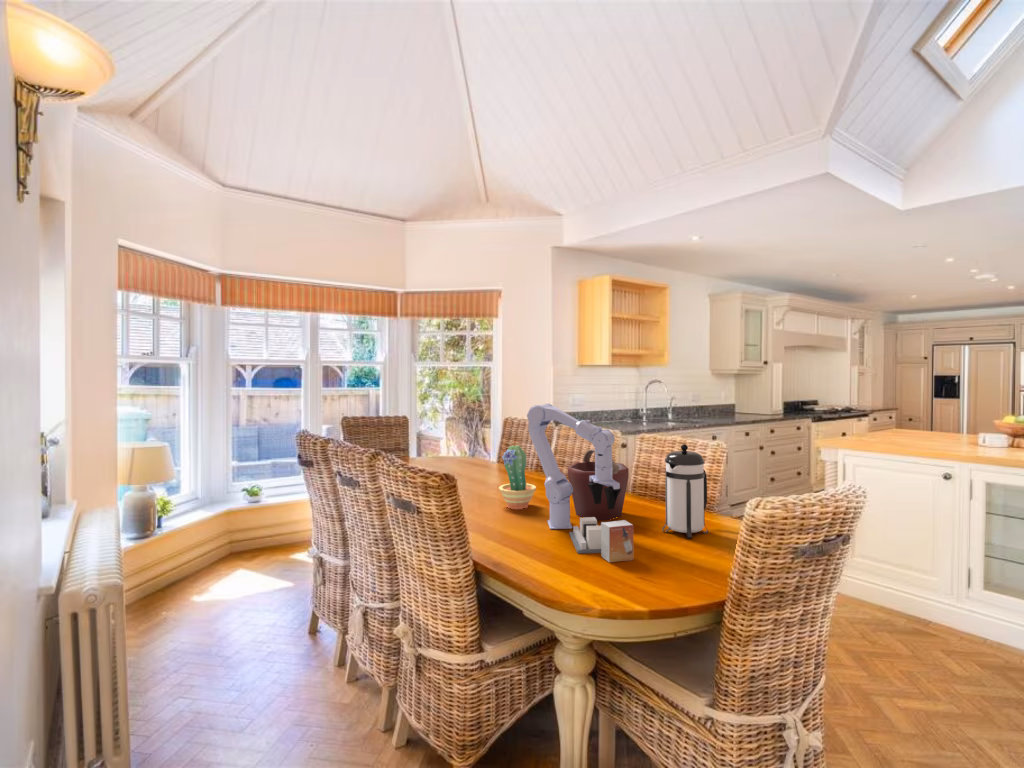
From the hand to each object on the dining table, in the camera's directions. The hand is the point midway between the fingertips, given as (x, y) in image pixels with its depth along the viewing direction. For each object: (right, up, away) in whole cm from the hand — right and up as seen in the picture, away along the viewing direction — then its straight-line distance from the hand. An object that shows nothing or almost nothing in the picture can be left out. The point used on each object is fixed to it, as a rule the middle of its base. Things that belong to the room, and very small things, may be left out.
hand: (604, 506), depth 178 cm
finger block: (-6, -9, -6) cm, 12 cm away
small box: (0, -10, -23) cm, 25 cm away
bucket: (+1, -9, +23) cm, 25 cm away
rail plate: (-6, -10, -9) cm, 14 cm away
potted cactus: (-29, -9, +37) cm, 48 cm away
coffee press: (+28, -9, +1) cm, 30 cm away
